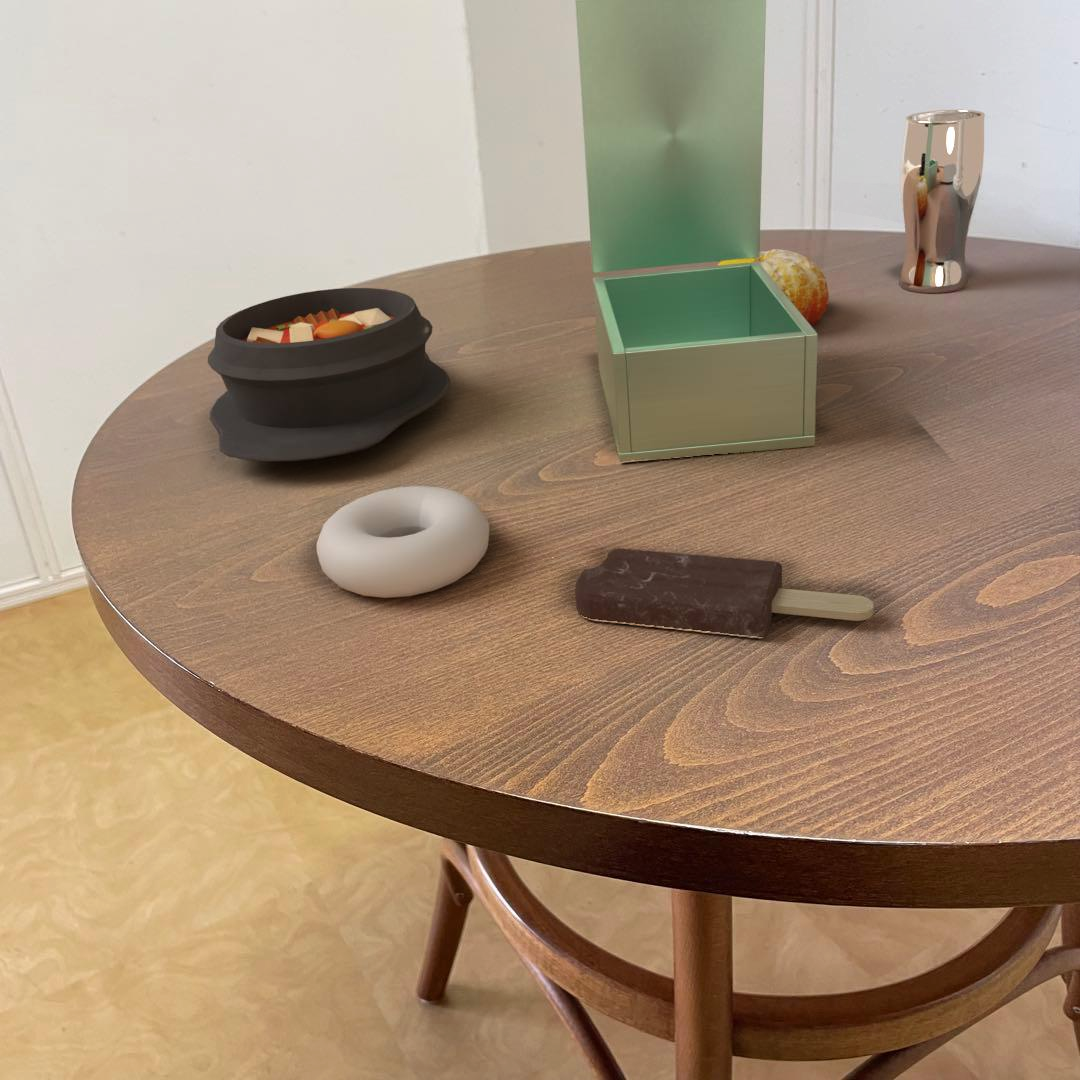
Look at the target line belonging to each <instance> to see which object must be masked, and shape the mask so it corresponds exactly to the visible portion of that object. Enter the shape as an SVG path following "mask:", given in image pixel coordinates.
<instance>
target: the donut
mask: <svg viewBox="0 0 1080 1080" xmlns="http://www.w3.org/2000/svg"><path fill="white" fill-rule="evenodd" d="M489 537H490V523H489V520H488V518H487V516H486V514H485V513H484V512H483V510H482V509H481V507H480V505H478V503H477V502H476V501H474V500H473V499H471V498H470V497H467V496H466V495H464V494H462V493H461V492H459V491H456V490H454V489H453V490H452V489H449V488H445V487H441V486H427V485H411V486H398V487H393V488H388V489H382V490H379V491H375V492H373V493H369V494H367V495H364V496H361V497H359V498H356V499H354V500H352V501H351V502H348V503H347V504H345V505H343V506H342V507H340V508H339V509H338V510H337V511H335V512H334V513H333V514H332V515H331V516H330V517H329V518H328V519H327V520H326V521H325V523H323V525H322V528H321V531H320V533H319V535H318V538H317V540H316V541H317V542H316V554H317V558H318V561H319V565H320V568H321V569H322V572H323V573H324V575H326V576H327V578H329V579H330V580H331V581H332V582H333V583H335V584H336V585H337V586H338V587H340V588H341V589H344V590H346V591H348V592H351V593H355V594H358V595H360V596H362V597H363V596H364V597H372V598H384V599H391V598H402V597H412V596H416V595H420V594H421V595H422V594H427V593H430V592H433V591H436V590H440V589H442V588H443V587H446V586H448V585H450V584H454V583H455V582H457V581H458V580H460V579H461V578H463V577H464V576H466V575H467V574H469V573H470V572H471V571H473V569H474V568H475V567H476V566H477V565H478V564H479V563H480V561H481V560H482V559H483V557H484V556H485V554H486V552H487V550H488V546H489V540H490V538H489Z"/></svg>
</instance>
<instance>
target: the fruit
mask: <svg viewBox="0 0 1080 1080" xmlns="http://www.w3.org/2000/svg"><path fill="white" fill-rule="evenodd" d="M750 262H759V263H760V264H761V266H762V267H763V268H764V269H765V271H766V272H767V273H768V274H769V275H770V277H771V278H772V279H773V280H774V282H775V283H776V284H777V285H778V286H779V288H780V289H781V290H782V291H783V292H784V294H785V295H786V296H787V297H788V299H789V300H790V301H791V302H792V303H793V305H794V306H795V307H796V308H797V310H798V311H799V312H800V313H801V314H802V316H803V317H804V318H805V319H806V320H807V322H808V323H809V324H810V325H811V327H813V326H814V325H815V324H817V323H819V322H820V320H822V316H823V315H824V314H825V313H826V311H827V308H828V306H829V297H830V294H829V288H828V282H827V280H826V277H825V275H824V274H823V268H822V269H820V267H819V266H817V264H816V263H814V262H813V261H812V260H811V259H810V258H809V257H807V256H804V255H802V254H800V253H798V252H796V251H795V252H794V251H791V250H787V249H779V248H778V249H777V248H773V249H770V250H766V251H764V250H763V251H761V250H760V252H759V257H756V258H745V259H735V260H724V261H719V262H718V264H717V265H716V266H718V265H728V264H738V263H750Z"/></svg>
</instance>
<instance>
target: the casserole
mask: <svg viewBox="0 0 1080 1080" xmlns="http://www.w3.org/2000/svg"><path fill="white" fill-rule="evenodd" d="M433 329H434V328H433V325H432V324H431V321H429V320H428V319H427V318H426V317H425V316H423V315H422V314H421V311H420V310H419V307H418V306H417V304H416V302H415V300H414V298H413V297H411V296H410V295H408V294H407V293H404V292H400V291H397V290H391V289H387V288H386V289H385V288H373V287H343V288H329V289H321V290H319V289H318V290H313V291H307V292H300V293H295V294H290V295H286V296H282V297H277V298H274V299H270V300H267V301H264V302H260V303H257V304H254V305H251V306H249V307H247V308H244V309H241V310H238V311H237V312H235V313H233V314H231V315H229V316H227V317H226V318H224V320H222V321H221V322H219V324H218V325H217V327H216V328H215V338H214V347H213V348H212V349H211V351H210V353H209V354H208V355H207V364H208V365H209V367H210V369H212V370H213V371H214V372H215V373H216V374H218V375H220V377H221V380H222V381H223V384H224V386H225V389H226V391H225V392H224V393H222V395H221V396H220V397H218V398H217V399H216V401H215V403H214V404H213V406H212V407H211V409H210V411H209V420H210V422H211V423H212V425H213V427H214V428H215V430H216V431H217V433H218V438H219V439H218V441H219V452H220V453H222V454H224V455H225V456H227V457H230V458H234V459H239V460H245V461H253V462H255V461H256V462H269V463H270V462H297V461H308V460H319V459H325V458H331V457H336V456H342V455H343V456H344V455H347V454H350V453H351V454H352V453H354V452H359V451H363V450H366V449H369V448H370V447H373V446H375V445H377V444H379V443H381V442H382V441H383V440H385V438H387V437H388V436H390V434H392V433H393V432H394V431H396V430H397V429H398V428H399V427H400V426H401V425H403V424H404V423H406V422H409V420H411V419H414V418H415V417H416V416H418V415H420V414H421V413H424V412H425V411H427V410H428V409H430V408H431V407H434V405H435V404H437V403H438V402H439V401H441V399H443V398H444V397H445V396H446V394H447V392H448V390H449V389H450V387H451V378H450V376H449V374H448V373H447V371H446V370H444V369H443V368H442V367H440V366H439V365H438V364H436V363H435V362H434V361H432V360H431V358H430V357H429V355H428V353H427V352H426V343H427V342H428V341H429V339H430V337H431V336H432V335H433V334H432V333H433Z"/></svg>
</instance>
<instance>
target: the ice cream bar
mask: <svg viewBox="0 0 1080 1080" xmlns="http://www.w3.org/2000/svg"><path fill="white" fill-rule="evenodd" d="M574 587H575V588H574V597H575V608H576V610H577V614H578V613H579V614H580V615H582V616H584V617H587V618H590V619H598V620H607V621H617V622H626V623H635V624H645V625H654V626H664V627H673V628H682V629H692V630H701V631H711V632H720V633H729V634H739V635H748V636H758V637H764V638H766V636H767V634H768V631H769V629H770V626H771V625H772V624H771V623H772V619H773V618H772V617H773V613H774V614H784V615H794V616H803V617H804V616H805V617H813V618H823V619H835V620H844V621H854V622H856V621H857V622H859V621H865V620H868V619H870V618H871V617H872V616H873V615H874V602H873V600H871V599H870V598H868V597H866V596H863V595H858V594H848V593H835V592H824V591H815V590H803V589H793V588H792V589H791V588H783V565H782V563H780V562H778V561H775V560H773V561H771V560H761V559H750V558H737V557H726V556H714V555H701V554H690V553H680V552H679V553H678V552H666V551H654V550H642V549H631V548H630V549H629V548H620V547H619V548H614V549H612V550H611V551H609V552H608V553H607V557H606V558H605V560H604V561H603V562H602V563H600V564H598V565H596V566H594V567H592V568H585V569H583V570H582V571H581V574H580V575H579V576H578V578H577V579H576V582H575V586H574ZM579 614H578V615H579ZM580 615H579V616H580Z"/></svg>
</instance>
